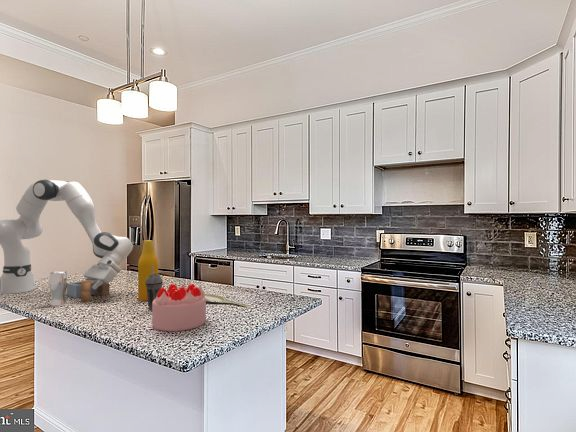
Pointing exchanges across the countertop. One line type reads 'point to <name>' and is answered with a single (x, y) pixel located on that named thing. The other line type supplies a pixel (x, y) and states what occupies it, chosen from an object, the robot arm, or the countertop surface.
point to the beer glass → (58, 287)
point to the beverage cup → (153, 287)
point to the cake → (179, 308)
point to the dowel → (86, 291)
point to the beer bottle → (146, 268)
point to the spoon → (222, 300)
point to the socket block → (78, 289)
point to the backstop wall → (102, 289)
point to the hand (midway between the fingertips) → (88, 287)
